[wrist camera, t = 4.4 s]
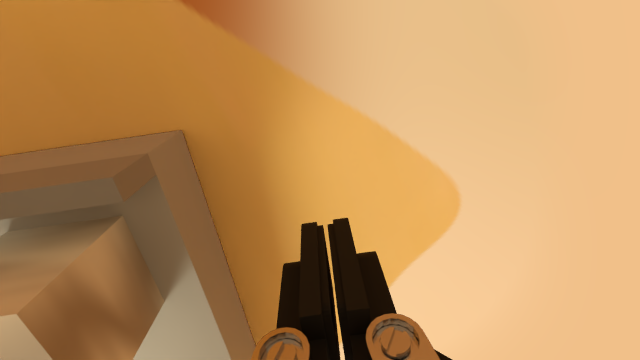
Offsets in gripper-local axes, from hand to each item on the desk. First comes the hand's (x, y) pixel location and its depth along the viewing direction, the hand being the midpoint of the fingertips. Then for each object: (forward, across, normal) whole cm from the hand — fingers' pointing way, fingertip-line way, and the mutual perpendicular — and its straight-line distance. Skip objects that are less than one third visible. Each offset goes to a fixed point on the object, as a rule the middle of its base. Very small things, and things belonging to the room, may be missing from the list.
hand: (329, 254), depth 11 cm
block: (+1, +10, 0) cm, 10 cm away
